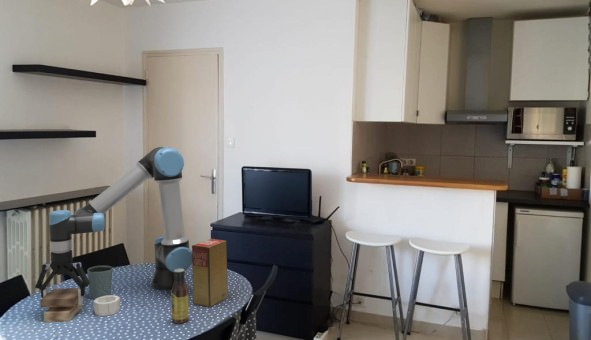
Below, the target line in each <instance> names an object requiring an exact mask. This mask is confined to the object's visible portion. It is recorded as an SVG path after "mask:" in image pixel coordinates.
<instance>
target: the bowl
mask: <svg viewBox="0 0 591 340" xmlns="http://www.w3.org/2000/svg"><path fill="white" fill-rule="evenodd" d="M120 308H121V297H120V296H117V295H115V294H111V295H107V296H102V297H99V298H96V299H94V300H93V312H94V315H95V316H97V317H109V316H113V315H116V314H117V313H119V312H120Z"/></svg>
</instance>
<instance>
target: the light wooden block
mask: <svg viewBox="0 0 591 340" xmlns="http://www.w3.org/2000/svg"><path fill="white" fill-rule="evenodd" d="M82 308H83V303H82V304H81V305H79V302H78V303H77V304H76V305H75V306H69V307H48V308H47V309H46V310H45V311H44V312H43V323H57V322H58V323H59V322H60V323H61V322H71V320H72V319H73V318H74V317H75V315H77V313H78V312H79V311H80V310H81V309H82Z"/></svg>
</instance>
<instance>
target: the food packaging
mask: <svg viewBox="0 0 591 340" xmlns="http://www.w3.org/2000/svg"><path fill="white" fill-rule="evenodd" d="M227 244H228V243H227V240H223V239H217V238H216V239H215V238H210V239H206V240H204V241H201V242H199V243H198V242H197V243H196V244H192V245H191V251H192V265H191V266H192V290H193V291H192V301H193V302H192V304H193V305H196V306H202V307H207V308H212V307H213V306H215V305H217V304H218V303H220V302H222V301H224V300H226V299H228V298H229V296H228V292H229V291H228V253H227V252H228V248H227Z"/></svg>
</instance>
